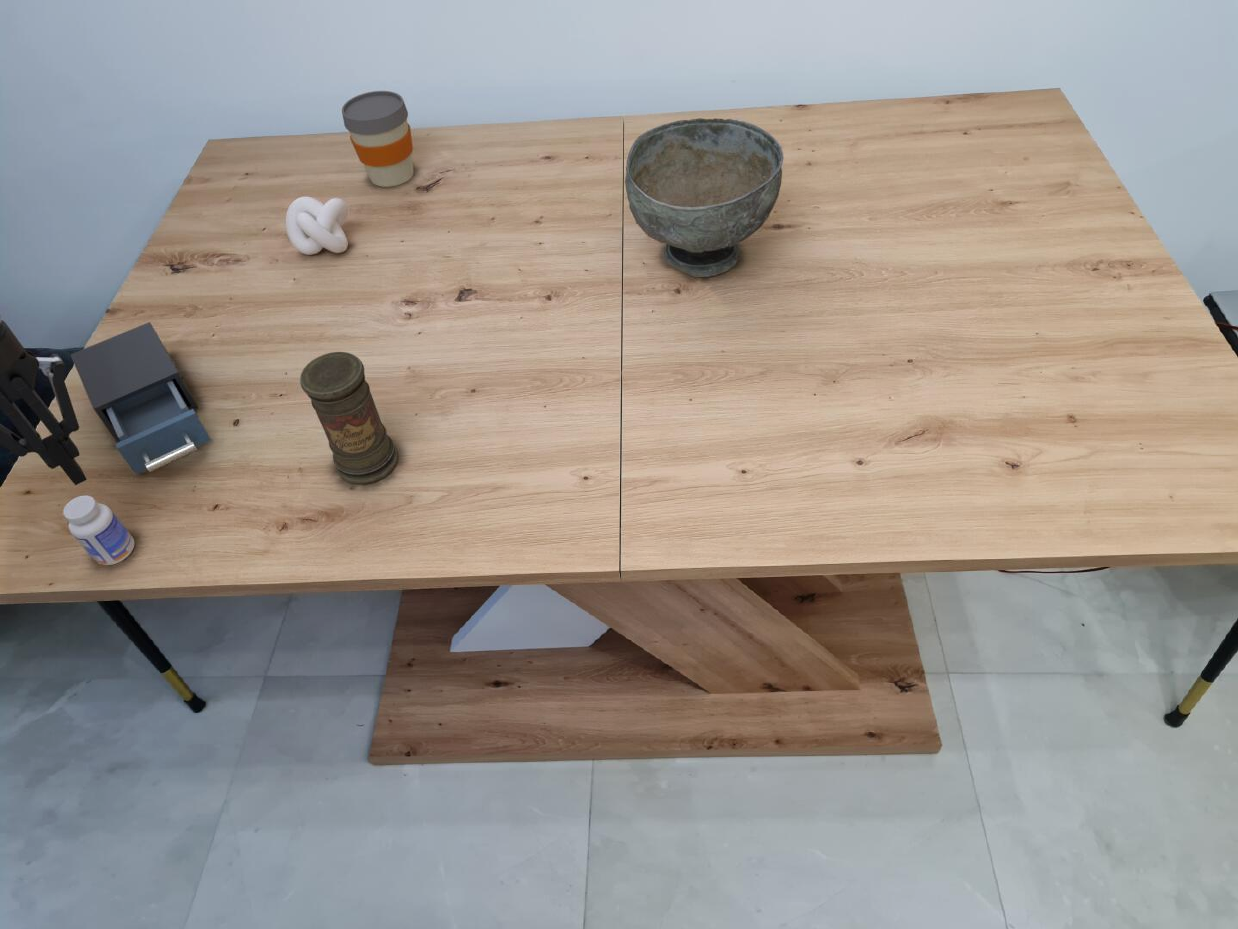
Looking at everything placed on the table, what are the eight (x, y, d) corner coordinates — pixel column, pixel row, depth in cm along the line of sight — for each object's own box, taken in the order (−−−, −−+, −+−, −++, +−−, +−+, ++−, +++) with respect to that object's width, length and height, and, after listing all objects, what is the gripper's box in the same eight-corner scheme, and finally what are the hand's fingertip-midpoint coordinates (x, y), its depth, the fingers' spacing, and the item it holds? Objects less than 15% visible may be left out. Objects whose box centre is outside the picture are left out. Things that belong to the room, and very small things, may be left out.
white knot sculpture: (366, 253, 168) (352, 211, 161) (302, 273, 165) (286, 231, 158) (351, 224, 175) (337, 182, 168) (290, 242, 172) (274, 201, 166)
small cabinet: (198, 407, 143) (177, 372, 137) (118, 444, 138) (93, 408, 133) (170, 356, 152) (149, 321, 146) (94, 389, 147) (70, 354, 142)
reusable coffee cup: (372, 198, 181) (351, 127, 170) (354, 171, 189) (332, 102, 177) (431, 178, 184) (413, 108, 173) (410, 152, 192) (392, 84, 181)
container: (331, 453, 134) (290, 362, 120) (389, 432, 136) (355, 341, 123) (344, 494, 128) (303, 404, 115) (405, 472, 130) (371, 380, 117)
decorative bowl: (721, 195, 172) (721, 96, 157) (809, 261, 157) (819, 158, 142) (604, 250, 164) (592, 151, 149) (686, 324, 150) (682, 223, 134)
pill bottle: (136, 530, 126) (102, 485, 119) (134, 560, 123) (99, 515, 116) (96, 541, 125) (59, 497, 118) (93, 571, 122) (55, 527, 115)
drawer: (221, 458, 133) (205, 431, 129) (144, 494, 130) (125, 468, 125) (183, 388, 145) (167, 361, 140) (111, 420, 141) (92, 393, 136)
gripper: (-90, 379, 94) (33, 520, 112) (38, 325, 99) (137, 467, 116) (-103, 345, 98) (18, 485, 116) (21, 294, 103) (119, 436, 121)
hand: (78, 476), depth 116 cm, fingers closed
